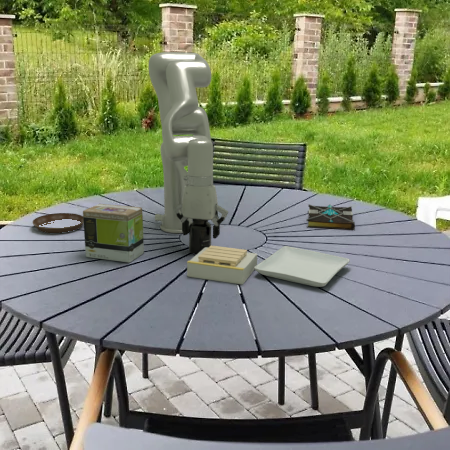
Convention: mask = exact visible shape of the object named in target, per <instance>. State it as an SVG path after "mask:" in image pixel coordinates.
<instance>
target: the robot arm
mask: <svg viewBox="0 0 450 450" xmlns="http://www.w3.org/2000/svg"><path fill="white" fill-rule="evenodd" d="M148 74H149V79H150V81H151V84H152V87H153V88H154V91H155V94H156V96H157V100H158V108H159V109H158V111H159V115H160V117H159V119H160V122H161V123H160V125H161V137H162V143H161V145H160V156H161V157H160V158H161V163H162V169H163V170H162V171H163V199H164V201H163V202H164V206H163V207H164V213H163V214H159V213H155V215H154V221H156V222H161V224H160V229H161V231H163V232H165V233H169V234H170V233H171V234H182V235H183V236H188V235H189V226H190V224H191V223H192V222H193V221H192V219H201V220H208V221H211V223H212V224H213V226H212V238H213V239H214V240H215V239H217V238H218V237H219V235H220V232H221V231H220V229H221V224H222V223H223V222H224V221H225V220H226V218H227V217H228V215H229V211H228V210H227V209H225V208H223V207H222V206H220V205H219V204H218V202H219V201H218V194H217V189H216V185H215V184H214V143H213V142H212V136H211V130H210V124H209V118H208V115H207V112H206V110H205V109H204V108H203V107H201V106H199V98H198V95H197V94H198V93H197V91H196V89H197V88H207V87H209V85H210V84H211V82H212V71H211V67H210V65H209V63H208V61H207V60H206V59H205V58H204V57H202V56H201V55H200V54H199V53H196V52H178V51H177V52H175V51H165V52H157V53H155V54H152V55H151V56H150V57H149V60H148ZM185 167H187V170H186V168H185ZM219 213H221V215H220V218H219V217H218V214H219Z"/></svg>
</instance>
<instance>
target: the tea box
mask: <svg viewBox="0 0 450 450" xmlns="http://www.w3.org/2000/svg"><path fill="white" fill-rule="evenodd" d="M143 214H144V213H143V207H141V206H140V207H139V206H128V205H118V204H107V203H98V204H96V205H93V206H91V207H89V208H87V209H84V210H83V211H82V216H83V222H84V223H83V233H84V248H85V250H84V251H85V257H86V258H93V259H100V260H109V261H116V262H121V263H129V264H130V263H131V262H133V261H135V260H137V258H139V257H141V256H142V255H143V254H144V252H145V245H144V242H145V241H144V220H143V219H144V217H143Z"/></svg>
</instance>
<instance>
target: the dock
mask: <svg viewBox="0 0 450 450" xmlns="http://www.w3.org/2000/svg"><path fill="white" fill-rule="evenodd" d="M186 265H187V266H186V270H187V271H186V272H187V273H186V275H187V276H186V277H189V278H195V279H203V280H207V281H208V280H210V281H216V282H224V283H228V284H229V283H231V284H236V285H237V284H238V285H244V283H245V282H246V281H247V279H248V278H249V277H250V276H251V275H252V274H253V272H254V271H256V270H255V269H254V267H255V266H257V265H258V253H256V252H255V253H254V252H248V250H247V249H243V248H242V249H241V248H234V247H226V246H219V245H218V246H217V245H212V244H211V246H210V247H209V248H208V247H205V248H204V249H203V250H202V251H200V252H199V253H198V254H197V255H195V256H193V257H191V259H189V260H187V261H186Z"/></svg>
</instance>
